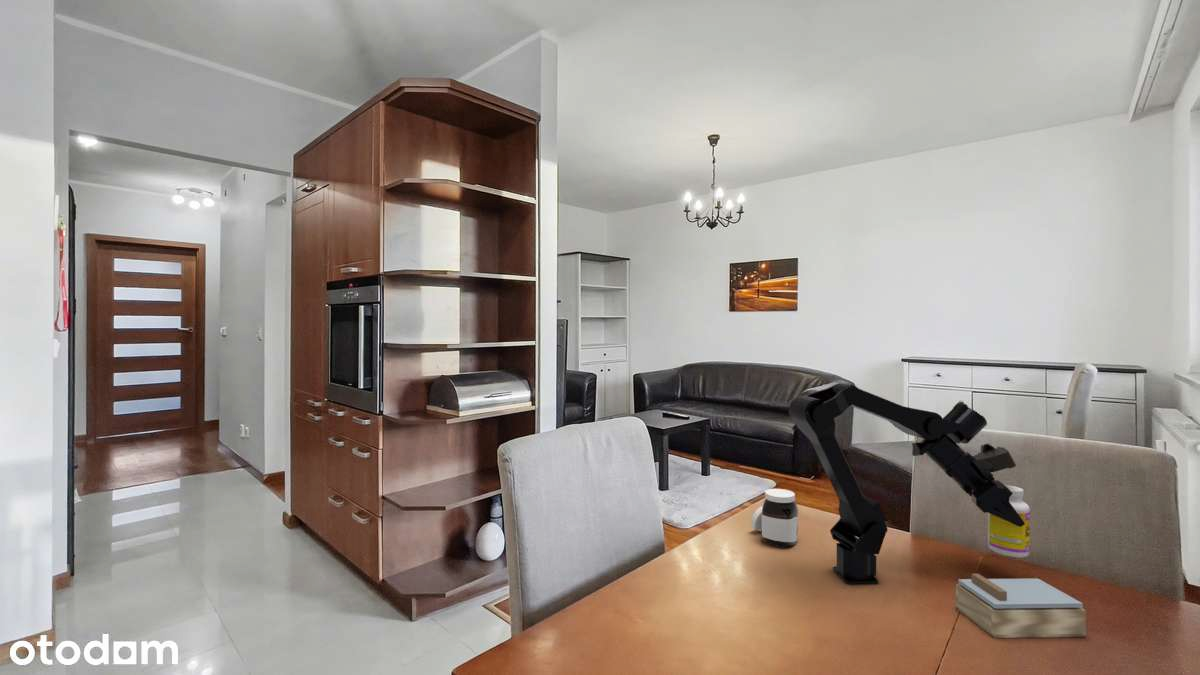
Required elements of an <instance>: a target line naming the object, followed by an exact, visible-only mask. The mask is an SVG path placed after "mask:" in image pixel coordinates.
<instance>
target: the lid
mask: <svg viewBox="0 0 1200 675" xmlns="http://www.w3.org/2000/svg"><path fill="white" fill-rule="evenodd" d="M957 582H958V583H957V584H960V585H962V586H963V587H965V588H966V589H967V590H969V591H970V592H972V593H973V594H975V595H976V596H978V597H979V598H980V599H982V600H983V601H985V602H986V603H988V604H989V605H991V606H992V607H993V608H995V609H1005V608H1083V606H1084V605H1083V602H1081V601H1079V600H1077V599H1076V598H1074V597H1072V596H1070V595H1069V594H1067V593H1065V592H1063V591H1061V590H1060V589H1057V588H1056V587H1054V586H1052V585H1050V584H1048V583H1046V582H1045V581H1043V580H1042V579H1039V578H986V577H984V576H983V575H982V574H980V573H971V578H963V579H962V578H961V579H960V578H958V580H957ZM1083 609H1084V608H1083Z"/></svg>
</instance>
